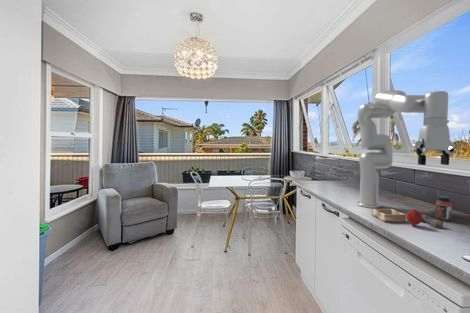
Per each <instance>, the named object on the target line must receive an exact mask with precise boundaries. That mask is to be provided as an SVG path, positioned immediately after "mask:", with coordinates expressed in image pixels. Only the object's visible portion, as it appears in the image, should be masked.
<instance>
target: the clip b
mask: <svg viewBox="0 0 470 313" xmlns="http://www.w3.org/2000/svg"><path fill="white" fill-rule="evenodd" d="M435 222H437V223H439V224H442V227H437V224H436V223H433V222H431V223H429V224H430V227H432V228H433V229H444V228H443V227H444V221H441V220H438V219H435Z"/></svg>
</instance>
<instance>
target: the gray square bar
mask: <svg viewBox="0 0 470 313" xmlns="http://www.w3.org/2000/svg"><path fill="white" fill-rule="evenodd" d="M422 220H423V221H425V222H424V223H427V224H430V223H431V222H433V223H436V224H437V227H442V224H439V223H437V222H436V221H434V220H432V219H429V218H428V219H426V218H424V217H422Z"/></svg>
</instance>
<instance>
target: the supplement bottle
mask: <svg viewBox="0 0 470 313" xmlns="http://www.w3.org/2000/svg"><path fill="white" fill-rule="evenodd" d="M452 206H453V204H452V202H451V201H450V197H449V196H446V195H439V196H438V199H437V200H436V201H435V210H434V211H435V212H434V217H435V220H439V221H442V222H450V221H451V220H452Z"/></svg>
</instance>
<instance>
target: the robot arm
mask: <svg viewBox="0 0 470 313" xmlns="http://www.w3.org/2000/svg"><path fill="white" fill-rule="evenodd" d="M374 101H375V103H374V102H371V103H363V104H361V105H360V106H359V108H358V110H357V121H358V124H359V129H360V143H361V148H362V150H365V151H368V152H363V153H361V155H360V156H359V157H358V162H359V169H360V178H359V179H360V180H359V181H360V183H359V184H360V185H359V196H358V197H357V198H358V199H359V200H358V201H356V205H357V206H360V207H364V208H371V209H380V208H381V207H382V205H381V203H379V202H378V201H379V183H380V178H379V173H378V172H377V170H376V169H389V168H390V167H391V166H392V164H393V147H392V146H393V145H392V144H393V143H392V140H391V137H390V136H389V135H388V134H384V133H383V134H382V133H378V132H377V131H378V130H377V125H376V123H375V121H373V119H387V118H390V117H392V116H393V115H394V114H395V113H396V112H398V113H404V114H405V113H407V114H408V113H409V114H410V113H413V114H414V113H415V114H416V113H417V114H421V113H422V114H423V122H422V123H423V126H421V127H420V130H419V134H418V141H417V142H415V143H413V144H412V145H411V146H412V148H413V149H414V150H413V151H414V152H415V153H416V155H417V165H419V166H420V165H421V166H426V165H427V156H426V153H427V152H428V151H439V152H440V153H441V155H440V165H442V166H443V165H444V166H449V165H450V156H451V155H452V153H453V152H454V151H455V148H456V146H457V145H456V144H455V143H454V142H452V141H451V139H450V137H451V136H450V129H449V125H448V124H449V120H448V115H449V114H448V113H449V92H447V91H444V90H437V91H431V92H427V93H426V94H424V95H422V94H406V92H405V91H402V90H397V89H396V90H394V89H393V90H392V89H391V90H389V89H388V90H387V89H385V90H382V91H379V92H377V93H376V95H375V97H374ZM376 151H378V152H376Z"/></svg>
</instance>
